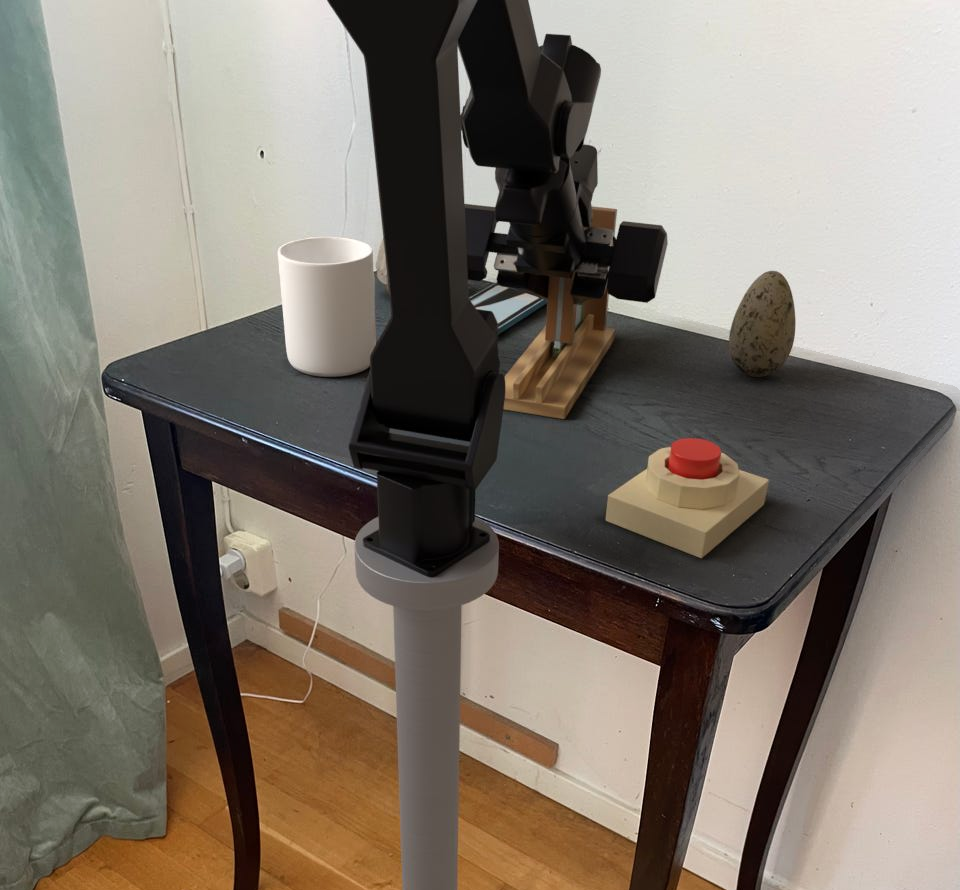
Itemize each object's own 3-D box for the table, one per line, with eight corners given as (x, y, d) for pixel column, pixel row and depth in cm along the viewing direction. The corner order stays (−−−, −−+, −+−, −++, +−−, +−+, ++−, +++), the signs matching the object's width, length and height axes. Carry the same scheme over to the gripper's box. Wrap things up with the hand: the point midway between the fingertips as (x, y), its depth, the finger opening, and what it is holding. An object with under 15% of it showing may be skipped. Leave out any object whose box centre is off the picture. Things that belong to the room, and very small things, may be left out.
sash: (569, 359, 97) (576, 264, 92) (543, 355, 98) (549, 260, 93) (591, 327, 104) (598, 237, 99) (567, 324, 105) (573, 235, 100)
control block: (701, 559, 72) (710, 509, 69) (604, 521, 76) (610, 472, 73) (764, 505, 78) (774, 458, 76) (672, 472, 82) (679, 427, 80)
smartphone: (426, 321, 107) (498, 280, 117) (426, 330, 107) (498, 288, 118) (487, 335, 104) (555, 292, 114) (487, 344, 104) (555, 300, 115)
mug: (412, 345, 103) (410, 237, 97) (342, 386, 94) (336, 270, 88) (342, 329, 107) (336, 223, 100) (269, 367, 98) (257, 253, 92)
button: (702, 487, 73) (706, 465, 72) (658, 471, 74) (661, 449, 73) (726, 469, 75) (730, 447, 74) (683, 454, 77) (686, 433, 76)
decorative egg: (730, 386, 96) (748, 281, 91) (717, 362, 101) (734, 261, 96) (793, 387, 97) (815, 282, 91) (777, 363, 101) (797, 262, 96)
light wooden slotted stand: (564, 419, 90) (575, 271, 82) (488, 407, 91) (493, 261, 84) (614, 340, 106) (627, 209, 98) (549, 331, 107) (557, 202, 100)
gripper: (679, 123, 80) (682, 231, 95) (455, 104, 85) (492, 210, 100) (648, 252, 79) (657, 341, 94) (422, 226, 83) (464, 315, 98)
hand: (566, 298), depth 96 cm, fingers closed on sash, 2 cm apart
